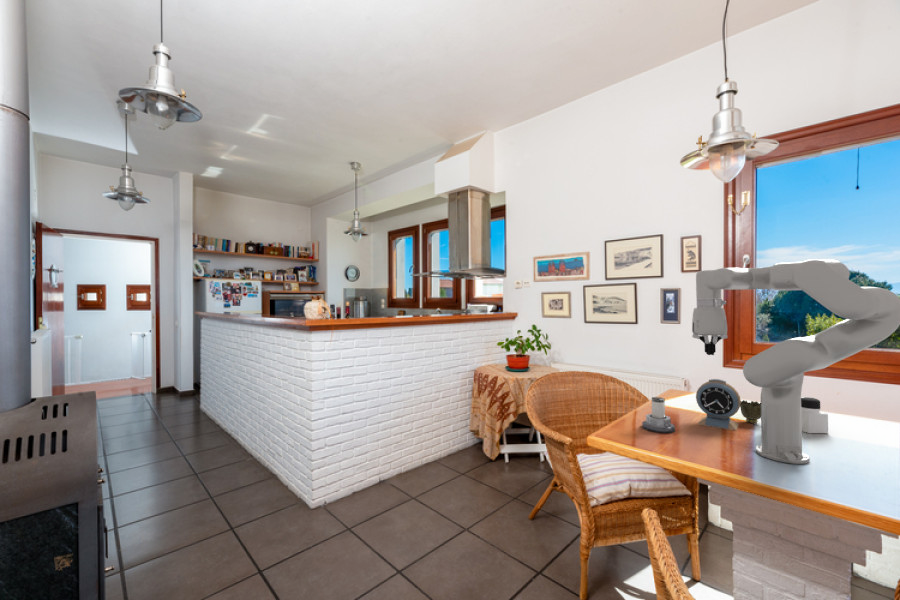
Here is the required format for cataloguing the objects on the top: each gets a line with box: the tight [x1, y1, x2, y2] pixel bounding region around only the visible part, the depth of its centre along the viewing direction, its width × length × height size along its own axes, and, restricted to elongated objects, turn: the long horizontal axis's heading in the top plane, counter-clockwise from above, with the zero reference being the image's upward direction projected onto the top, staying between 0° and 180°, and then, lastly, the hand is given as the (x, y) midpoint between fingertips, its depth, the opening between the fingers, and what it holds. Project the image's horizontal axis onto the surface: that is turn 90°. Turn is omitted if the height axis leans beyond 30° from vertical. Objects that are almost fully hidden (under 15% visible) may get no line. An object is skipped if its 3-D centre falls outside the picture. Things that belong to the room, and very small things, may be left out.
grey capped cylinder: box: [651, 396, 666, 419], centre depth 145 cm, size 4×4×10 cm
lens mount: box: [641, 413, 676, 434], centre depth 145 cm, size 11×11×4 cm
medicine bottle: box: [801, 396, 829, 434], centre depth 140 cm, size 7×7×12 cm
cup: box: [739, 399, 761, 424], centre depth 150 cm, size 8×7×8 cm
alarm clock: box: [695, 378, 742, 432], centre depth 148 cm, size 14×10×18 cm
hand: (710, 354), depth 137 cm, fingers closed
